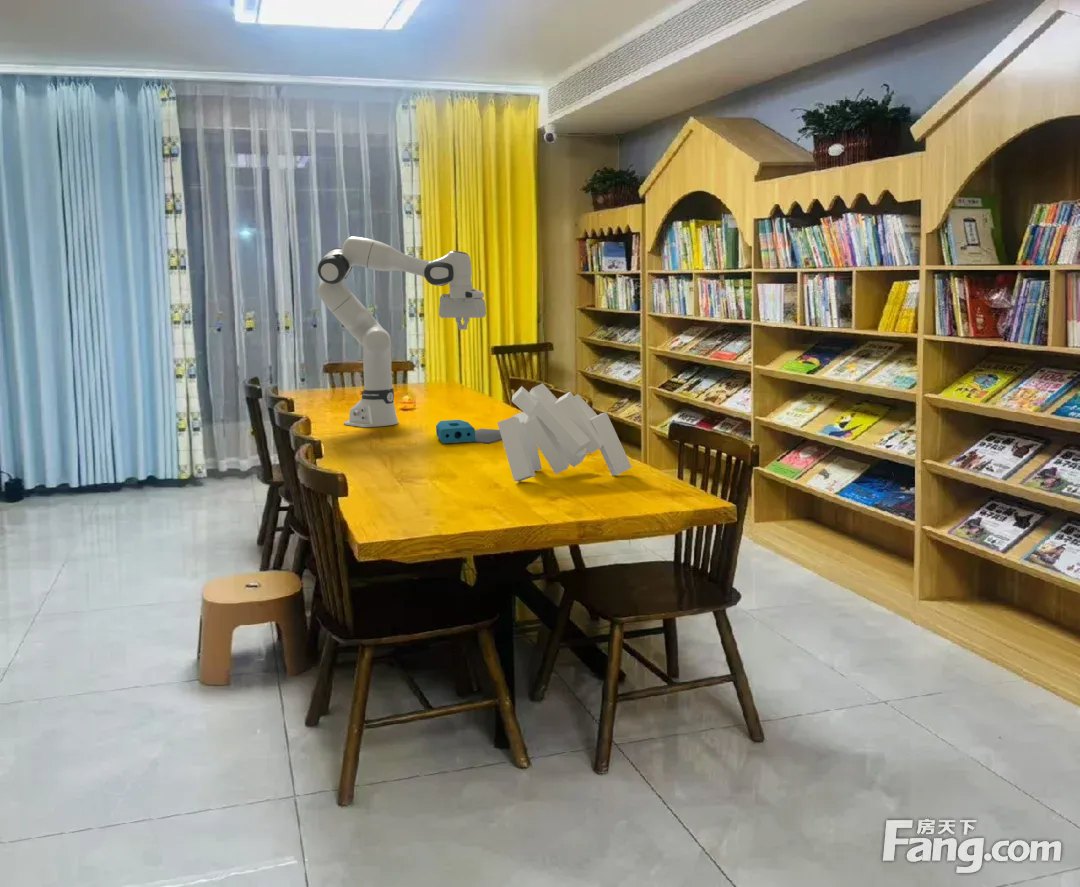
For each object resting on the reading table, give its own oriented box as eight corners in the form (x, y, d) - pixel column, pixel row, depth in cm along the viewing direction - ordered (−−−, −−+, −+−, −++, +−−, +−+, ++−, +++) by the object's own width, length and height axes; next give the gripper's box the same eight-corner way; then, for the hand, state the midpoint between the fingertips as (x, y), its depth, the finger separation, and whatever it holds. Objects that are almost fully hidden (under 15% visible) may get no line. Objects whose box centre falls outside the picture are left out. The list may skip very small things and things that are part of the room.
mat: (443, 440, 374) (443, 438, 374) (481, 430, 394) (481, 428, 394) (489, 443, 364) (489, 442, 363) (526, 433, 384) (526, 431, 383)
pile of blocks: (614, 480, 322) (565, 379, 326) (649, 458, 294) (596, 348, 298) (515, 525, 310) (466, 419, 314) (542, 506, 282) (488, 391, 286)
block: (466, 419, 385) (474, 427, 366) (466, 432, 386) (475, 441, 366) (433, 421, 382) (440, 429, 363) (434, 434, 383) (441, 443, 364)
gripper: (434, 294, 404) (436, 330, 406) (477, 293, 393) (479, 330, 396) (444, 293, 409) (446, 328, 412) (487, 292, 398) (488, 329, 401)
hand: (462, 329), depth 403 cm, fingers closed
